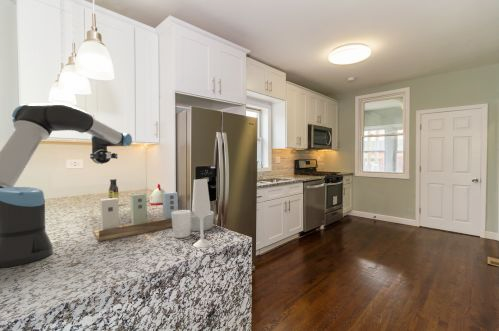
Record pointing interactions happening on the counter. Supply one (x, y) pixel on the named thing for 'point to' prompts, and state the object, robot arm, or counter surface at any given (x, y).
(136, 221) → the tile
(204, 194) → the champagne flute
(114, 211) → the tile
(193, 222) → the ramekin
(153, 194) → the kitchen timer
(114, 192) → the sauce bottle
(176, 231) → the white cup
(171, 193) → the tile
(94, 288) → the counter surface
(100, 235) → the oak board
